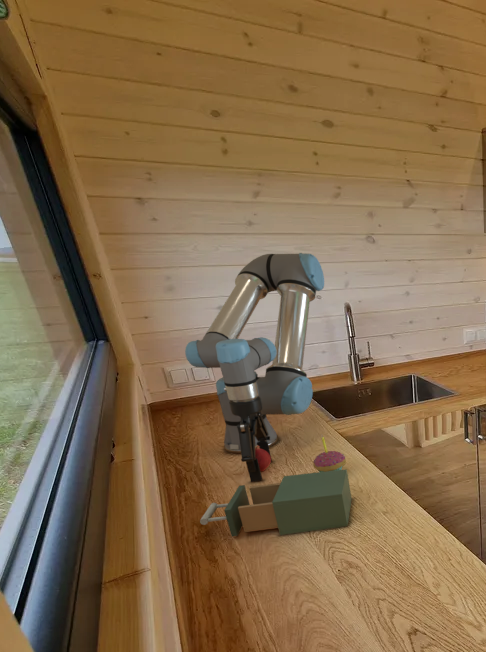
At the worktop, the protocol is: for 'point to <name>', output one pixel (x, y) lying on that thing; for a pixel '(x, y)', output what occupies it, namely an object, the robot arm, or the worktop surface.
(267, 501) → the drawer
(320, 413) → the worktop surface
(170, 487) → the worktop surface
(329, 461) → the cupcake
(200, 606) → the worktop surface
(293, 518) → the cabinet
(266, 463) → the onion
